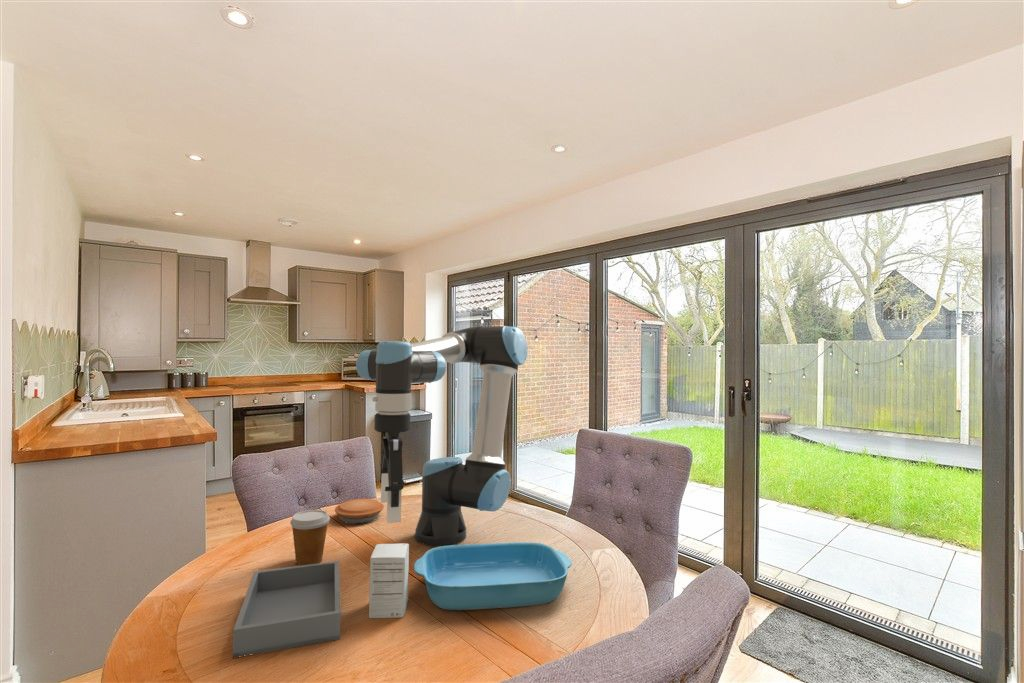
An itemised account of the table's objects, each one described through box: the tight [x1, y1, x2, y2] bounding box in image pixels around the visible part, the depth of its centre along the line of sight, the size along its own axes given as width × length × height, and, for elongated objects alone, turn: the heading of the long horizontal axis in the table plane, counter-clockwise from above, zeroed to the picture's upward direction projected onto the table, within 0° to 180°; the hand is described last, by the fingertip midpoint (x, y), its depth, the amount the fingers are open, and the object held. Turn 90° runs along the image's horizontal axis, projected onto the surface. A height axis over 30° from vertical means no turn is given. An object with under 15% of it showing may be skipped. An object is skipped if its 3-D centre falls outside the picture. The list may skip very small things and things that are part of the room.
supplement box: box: [368, 542, 410, 619], centre depth 103 cm, size 7×7×13 cm
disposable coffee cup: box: [290, 509, 331, 566], centre depth 125 cm, size 10×10×12 cm
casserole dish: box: [413, 541, 573, 611], centre depth 112 cm, size 37×22×7 cm, turn 101°
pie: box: [334, 498, 385, 524], centre depth 158 cm, size 15×16×5 cm
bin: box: [232, 560, 342, 659], centre depth 100 cm, size 18×24×5 cm
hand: (390, 511), depth 103 cm, fingers open, 13 cm apart
